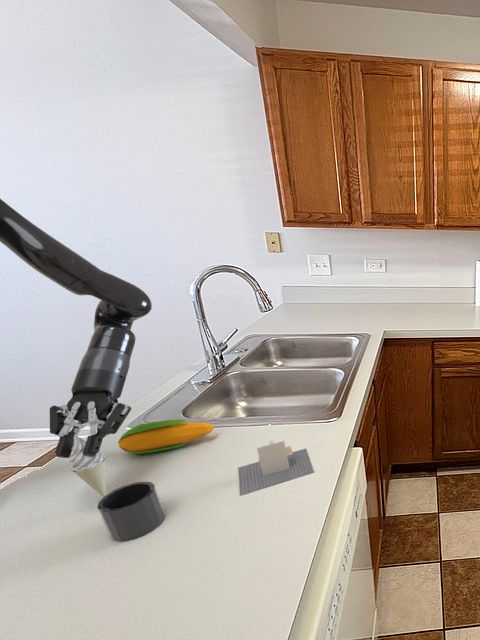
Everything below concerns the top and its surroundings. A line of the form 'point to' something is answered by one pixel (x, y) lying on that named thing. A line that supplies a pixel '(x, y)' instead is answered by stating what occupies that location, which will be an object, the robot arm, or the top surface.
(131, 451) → the corn
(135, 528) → the cone holder
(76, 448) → the ice cream cone
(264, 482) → the architectural model
